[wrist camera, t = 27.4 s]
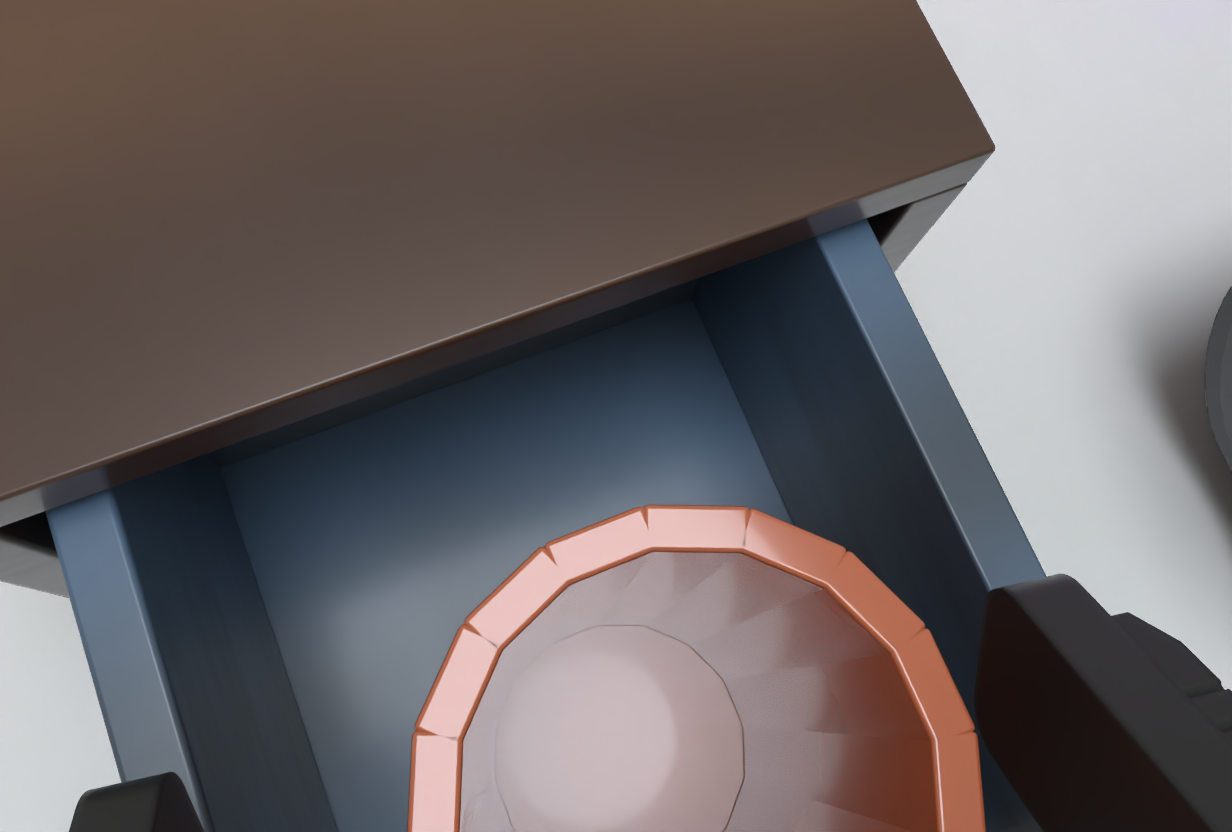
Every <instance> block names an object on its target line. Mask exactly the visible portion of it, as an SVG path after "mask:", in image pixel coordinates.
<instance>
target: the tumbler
mask: <svg viewBox="0 0 1232 832" xmlns="http://www.w3.org/2000/svg"><path fill="white" fill-rule="evenodd" d="M464 623H465V624H462V625H461V626H460V627H459V628H458V630H457V632H456V634H455V637H454V639H453V641H452V643H451V645H450V648H449V650H448V652H447V654H446V656H445V659H444V661H443V663H442V665H441V667H440V670H439V672H438V674H437V676H436V678H435V681H434V683H433V685H432V687H431V689H430V692H429V694H428V696H427V698H426V700H425V703H424V705H423V707H422V709H421V711H420V714H419V716H418V718H417V720H416V722H415V730H416V731H414V733H413V735H412V742H411V761H410V780H409V799H408V818H407V832H986V827H985V816H984V804H983V792H982V781H981V769H980V757H979V746H978V736H977V734H976V732H973V731H974V730H975V726H974V723H973V721H972V719H971V717H970V715H969V712H968V710H967V708H966V706H965V704H964V702H963V700H962V698H961V695H960V693H959V691H958V689H957V687H956V685H955V683H954V681H953V679H952V676H951V674H950V672H949V670H948V668H947V666H946V664H945V662H944V659H943V657H942V655H941V653H940V651H939V649H938V647H937V645H936V642H935V640H934V638H933V636H932V634H931V632H930V631H929V630H928V629H927V628H925V624H924V622H923V621H922V620H921V619H920V618H919V617H918V616H917V615H916V614H915V613H914V612H913V611H912V610H911V609H910V608H909V607H908V606H907V605H906V604H905V603H904V602H903V601H902V600H901V599H900V598H899V597H898V596H897V595H895V594H894V593H893V592H892V591H891V590H890V589H889V588H888V587H887V586H886V585H885V584H884V583H883V582H882V581H881V580H880V579H879V578H878V577H877V576H876V575H875V574H874V573H873V572H872V571H871V570H870V569H869V568H868V567H867V566H866V565H865V564H864V563H863V562H862V561H861V560H860V559H859V558H858V557H856V556H855V555H854V554H853V553H852V552H850V551H846V549H845V548H844V547H843V546H842V545H839V544H837V543H834V542H832V541H830V540H827V539H825V538H823V537H820V536H818V535H816V534H813V533H811V532H809V531H806V530H804V529H802V528H799V527H797V526H794V525H792V524H790V523H787V522H785V521H783V520H780V519H778V518H776V517H773V516H771V515H769V514H766V513H764V512H762V511H759V510H757V509H754V508H750V509H749V510H748V508H747V507H745V506H715V505H657V504H648V505H646V506H644V508H643V507H635V508H632V509H630V510H627V511H625V512H622V513H620V514H617V515H615V516H612V517H609V518H607V519H604V520H602V521H599V522H597V523H594V524H592V525H589V526H587V527H584V528H582V529H579V530H576V531H574V532H571V533H569V534H566V535H564V536H561V537H559V538H556V539H554V540H551V541H548V542H547V543H546V544H545V547H543V546H542V547H540V548H538V549H537V550H536V551H534V552H533V553H532V554H531V555H530V556H529V557H528V558H527V559H526V560H525V561H524V562H523V563H522V564H521V565H520V566H519V567H518V568H517V569H516V570H515V571H514V572H513V573H512V574H511V575H509V576H508V577H507V578H506V579H505V580H504V581H503V582H502V583H501V584H500V585H499V586H498V587H497V588H496V589H495V590H494V591H493V592H492V593H491V594H490V595H489V596H488V597H487V598H485V599H484V600H483V601H482V602H481V603H480V604H479V605H478V606H477V607H476V608H475V609H474V610H473V611H472V612H471V613H470V614H469V615H468V616H467V617H466V618H465V620H464Z"/></svg>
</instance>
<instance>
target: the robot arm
mask: <svg viewBox="0 0 1232 832" xmlns="http://www.w3.org/2000/svg"><path fill="white" fill-rule="evenodd" d="M974 708H975V715H976V719H977V723H978V727H979V730H980V733H981V736H982V738H983V741H984V743H985V745H986V747H987V749H988V751H989V753H990V755H991V756H992V758H993V760H994V761H995V763H996V764H997V766H998V767H999V768H1000V770H1001V771H1002V773H1003V774H1004V776H1005V777H1006V779H1007V780H1008V782H1009V783H1010V784H1011V786H1012V787H1013V789H1014V790H1015V792H1016V793H1017V795H1018V796H1019V798H1020V799H1021V800H1022V802H1023V803H1024V805H1025V806H1026V808H1027V809H1028V811H1029V812H1030V814H1031V815H1032V816H1033V818H1034V819H1035V821H1036V822H1037V824H1038V825H1039V827H1040V828H1041V830H1042V831H1043V832H1232V691H1231V690H1230V689H1227V690H1224V689H1223V687H1222V685H1221V681H1220V680H1219V679H1218V678H1217V677H1216V676H1215V675H1214V674H1213V673H1212V672H1211V671H1210V670H1209V669H1208V668H1207V667H1206V666H1205V665H1204V664H1203V663H1202V662H1201V661H1200V660H1199V659H1198V658H1197V657H1196V656H1195V655H1194V654H1193V653H1192V652H1191V651H1190V650H1189V649H1188V648H1187V647H1186V646H1185V645H1184V644H1183V643H1182V642H1181V641H1179V640H1177V639H1175V638H1173V637H1172V636H1170V635H1168V634H1166V633H1164V632H1163V631H1161V630H1159V629H1157V628H1155V627H1154V626H1152V625H1150V624H1148V623H1147V622H1145V621H1143V620H1141V619H1139V618H1138V617H1136V616H1134V615H1132V614H1130V613H1129V612H1127V613H1123V614H1118V615H1114V616H1110V615H1109V614H1108V613H1107V612H1106V611H1105V609H1104V608H1103V607H1102V606H1101V605H1100V604H1099V603H1098V602H1097V601H1096V600H1095V599H1094V598H1093V597H1092V596H1091V595H1090V594H1089V593H1088V592H1087V591H1086V590H1085V589H1084V588H1083V587H1082V586H1081V585H1080V584H1079V583H1078V582H1077V581H1076V580H1075V579H1073V578H1072V577H1070V576H1068V575H1065V574H1057V575H1053V576H1048V577H1044V578H1039V579H1035V580H1030V581H1026V582H1022V583H1017V584H1013V585H1008V586H1004V587H999V588H995V589H992V590H991V591H989V593H988V594H987V596H986V599H985V602H984V608H983V617H982V626H981V635H980V644H979V653H978V662H977V671H976V681H975V690H974ZM69 832H204V829H203V827H202V825H201V822H200V820H199V818H198V815H197V813H196V811H195V809H194V806H193V804H192V802H191V799H190V797H189V795H188V793H187V790H186V788H185V786H184V784H183V782H182V780H181V779H180V777H179V776H178V775H177V774H176V773H174V772H167V773H163V774H159V775H154V776H150V777H145V778H141V779H136V780H132V781H128V782H123V783H119V784H114V785H110V786H105V787H101V788H97V789H92V790H88V791H86V792H85V793H84V794H83V795H82V796H81V798H80V800H79V802H78V804H77V806H76V809H75V813H74V816H73V820H72V823H71V827H70V830H69Z"/></svg>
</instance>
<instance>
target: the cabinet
mask: <svg viewBox="0 0 1232 832" xmlns="http://www.w3.org/2000/svg"><path fill="white" fill-rule="evenodd" d="M994 151H995V145H994V143H993V141H992V139H991V137H990V136H989V134H988V132H987V130H986V128H985V126H984V125H983V123H982V121H981V119H980V117H979V115H978V114H977V112H976V110H975V108H974V106H973V104H972V103H971V101H970V99H969V97H968V95H967V93H966V91H965V90H964V88H963V86H962V84H961V82H960V80H959V79H958V77H957V75H956V73H955V71H954V69H953V68H952V66H951V64H950V62H949V60H948V58H947V57H946V55H945V53H944V51H943V49H942V47H941V45H940V44H939V42H938V40H937V38H936V36H935V34H934V33H933V31H932V29H931V27H930V25H929V23H928V22H927V20H926V18H925V16H924V14H923V12H922V11H921V9H920V7H919V5H918V3H917V1H916V0H0V581H1V582H6V583H10V584H14V585H18V586H22V587H26V588H30V589H35V590H39V591H43V592H47V593H51V594H55V595H59V596H63V597H68V598H70V597H69V594H68V590H67V587H66V583H65V580H64V576H63V572H62V569H61V565H60V562H59V558H58V555H57V551H56V548H55V544H54V540H53V537H52V533H51V530H50V526H49V523H48V519H47V516H46V512H45V511H46V510H49V509H52V508H55V507H58V506H60V505H63V504H66V503H69V502H72V501H74V500H77V499H80V498H83V497H86V496H88V495H91V494H94V493H97V492H100V491H102V490H105V489H108V488H111V487H114V486H117V485H119V484H122V483H125V482H128V481H131V480H133V479H136V478H139V477H142V476H145V475H147V474H150V473H153V472H156V471H159V470H161V469H164V468H167V467H170V466H173V465H175V464H178V463H181V462H184V461H187V460H189V459H192V458H195V457H198V456H201V455H203V454H206V453H209V452H212V451H215V450H217V449H220V448H223V447H226V446H229V445H232V444H234V443H237V442H240V441H243V440H246V439H248V438H251V437H254V436H257V435H260V434H262V433H265V432H268V431H271V430H274V429H276V428H279V427H282V426H285V425H288V424H290V423H293V422H296V421H299V420H302V419H304V418H307V417H310V416H313V415H316V414H318V413H321V412H324V411H327V410H330V409H332V408H335V407H338V406H341V405H344V404H347V403H349V402H352V401H355V400H358V399H361V398H363V397H366V396H369V395H372V394H375V393H377V392H380V391H383V390H386V389H389V388H391V387H394V386H397V385H400V384H403V383H405V382H408V381H411V380H414V379H417V378H419V377H422V376H425V375H428V374H431V373H433V372H436V371H439V370H442V369H445V368H448V367H450V366H453V365H456V364H459V363H462V362H464V361H467V360H470V359H473V358H476V357H478V356H481V355H484V354H487V353H490V352H492V351H495V350H498V349H501V348H504V347H506V346H509V345H512V344H515V343H518V342H520V341H523V340H526V339H529V338H532V337H534V336H537V335H540V334H543V333H546V332H548V331H551V330H554V329H557V328H560V327H563V326H565V325H568V324H571V323H574V322H577V321H579V320H582V319H585V318H588V317H591V316H593V315H596V314H599V313H602V312H605V311H607V310H610V309H613V308H616V307H619V306H621V305H624V304H627V303H630V302H633V301H635V300H638V299H641V298H644V297H647V296H649V295H652V294H655V293H658V292H661V291H663V290H666V289H669V288H672V287H675V286H678V285H680V284H683V283H686V282H689V281H692V280H694V279H697V278H700V277H703V276H706V275H708V274H711V273H714V272H717V271H720V270H722V269H725V268H728V267H731V266H734V265H736V264H739V263H742V262H745V261H748V260H750V259H753V258H756V257H759V256H762V255H764V254H767V253H770V252H773V251H776V250H778V249H781V248H784V247H787V246H790V245H793V244H795V243H798V242H801V241H804V240H807V239H809V238H812V237H815V236H818V235H821V234H823V233H826V232H829V231H832V230H835V229H837V228H840V227H843V226H846V225H849V224H851V223H854V222H857V221H860V220H863V219H865V218H867V220H868V222H869V224H870V226H871V228H872V230H873V232H874V234H875V236H876V238H877V240H878V242H879V244H880V246H881V248H882V250H883V252H884V254H885V256H886V258H887V260H888V262H889V264H890V266H891V268H892V270H893V272H895V271H896V269H897V268H898V267H899V266H900V265H901V263H902V262H903V261H904V260H905V259H906V257H907V256H908V255H909V254H910V252H911V251H912V250H913V249H914V248H915V246H916V245H917V244H918V243H919V242H920V240H921V239H922V238H923V237H924V236H925V234H926V233H927V232H928V231H929V229H930V228H931V227H932V226H933V225H934V223H935V222H936V221H937V220H938V219H939V217H940V216H941V215H942V214H943V213H944V211H945V210H946V209H947V208H948V206H949V205H950V204H951V203H952V202H953V200H954V199H955V198H956V197H957V196H958V194H959V193H960V192H961V191H962V190H963V188H964V187H965V186H966V185H967V182H969V181H970V180H971V179H972V177H973V176H974V175H975V174H976V172H977V171H978V170H979V169H980V168H981V166H982V165H983V164H984V163H985V162H986V160H987V159H988V158H989V157H990V156H991V154H992V153H993V152H994Z"/></svg>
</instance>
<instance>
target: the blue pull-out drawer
mask: <svg viewBox="0 0 1232 832" xmlns="http://www.w3.org/2000/svg"><path fill="white" fill-rule="evenodd" d="M648 504H657V505H715V506H745V507H747V508H748V510H749V509H750V508H754V509H757V510H759V511H762V512H764V513H766V514H769V515H771V516H773V517H776V518H778V519H780V520H783V521H785V522H787V523H790V524H792V525H794V526H797V527H799V528H802V529H804V530H806V531H809V532H811V533H813V534H816V535H818V536H820V537H823V538H825V539H827V540H830V541H832V542H834V543H837V544H839V545H842V546H843V547H844V548H845V549H846V551H850V552H852V553H853V554H854V555H855V556H856V557H858V558H859V559H860V560H861V561H862V562H863V563H864V564H865V565H866V566H867V567H868V568H869V569H870V570H871V571H872V572H873V573H874V574H875V575H876V576H877V577H878V578H879V579H880V580H881V581H882V582H883V583H884V584H885V585H886V586H887V587H888V588H889V589H890V590H891V591H892V592H893V593H894V594H895V595H897V596H898V597H899V598H900V599H901V600H902V601H903V602H904V603H905V604H906V605H907V606H908V607H909V608H910V609H911V610H912V611H913V612H914V613H915V614H916V615H917V616H918V617H919V618H920V619H921V620H922V621H923V622H924V624H925V628H927V629H928V630H929V631H930V632H931V634H932V636H933V638H934V640H935V642H936V645H937V647H938V649H939V651H940V653H941V655H942V657H943V659H944V662H945V664H946V666H947V668H948V670H949V672H950V674H951V676H952V679H953V681H954V683H955V685H956V687H957V689H958V691H959V693H960V695H961V698H962V700H963V702H964V704H965V706H966V708H967V710H968V712H969V715H970V717H971V719H972V721H973V723H974V726H975V730H974V731H973V732H976V734H977V736H978V746H979V757H980V769H981V781H982V792H983V804H984V816H985V827H986V832H1043V831H1042V830H1041V828H1040V827H1039V825H1038V824H1037V822H1036V821H1035V819H1034V818H1033V816H1032V815H1031V814H1030V812H1029V811H1028V809H1027V808H1026V806H1025V805H1024V803H1023V802H1022V800H1021V799H1020V798H1019V796H1018V795H1017V793H1016V792H1015V790H1014V789H1013V787H1012V786H1011V784H1010V783H1009V782H1008V780H1007V779H1006V777H1005V776H1004V774H1003V773H1002V771H1001V770H1000V768H999V767H998V766H997V764H996V763H995V761H994V760H993V758H992V756H991V755H990V753H989V751H988V749H987V747H986V745H985V743H984V741H983V738H982V736H981V733H980V730H979V727H978V723H977V719H976V715H975V708H974V690H975V681H976V671H977V662H978V653H979V644H980V635H981V626H982V617H983V608H984V602H985V599H986V596H987V594H988V593H989V591H991V590H992V589H995V588H999V587H1004V586H1008V585H1013V584H1017V583H1022V582H1026V581H1030V580H1035V579H1039V578H1044V577H1046V575H1045V573H1044V571H1043V569H1042V567H1041V565H1040V563H1039V561H1038V559H1037V557H1036V555H1035V553H1034V551H1033V549H1032V547H1031V545H1030V543H1029V541H1028V539H1027V537H1026V535H1025V533H1024V531H1023V529H1022V527H1021V525H1020V523H1019V521H1018V519H1017V517H1016V515H1015V513H1014V511H1013V509H1012V507H1011V505H1010V503H1009V501H1008V499H1007V497H1006V495H1005V493H1004V491H1003V489H1002V487H1001V485H1000V483H999V481H998V479H997V477H996V475H995V473H994V471H993V469H992V467H991V465H990V463H989V461H988V459H987V457H986V455H985V453H984V451H983V449H982V447H981V445H980V443H979V441H978V439H977V437H976V435H975V433H974V431H973V429H972V427H971V425H970V423H969V421H968V419H967V417H966V415H965V413H964V411H963V410H962V408H961V406H960V404H959V402H958V400H957V398H956V396H955V394H954V392H953V390H952V388H951V386H950V384H949V382H948V380H947V378H946V376H945V374H944V372H943V370H942V368H941V366H940V364H939V362H938V360H937V358H936V356H935V354H934V352H933V350H932V348H931V346H930V344H929V342H928V340H927V338H926V336H925V334H924V332H923V330H922V328H921V326H920V324H919V322H918V320H917V318H916V316H915V314H914V312H913V310H912V308H911V306H910V304H909V302H908V300H907V298H906V296H905V294H904V292H903V290H902V288H901V286H900V284H899V282H898V280H897V278H896V276H895V274H894V272H893V270H892V268H891V266H890V264H889V262H888V260H887V258H886V256H885V254H884V252H883V250H882V248H881V246H880V244H879V242H878V240H877V238H876V236H875V234H874V232H873V230H872V228H871V226H870V224H869V222H868V220H867V218H865V219H863V220H860V221H857V222H854V223H851V224H849V225H846V226H843V227H840V228H837V229H835V230H832V231H829V232H826V233H823V234H821V235H818V236H815V237H812V238H809V239H807V240H804V241H801V242H798V243H795V244H793V245H790V246H787V247H784V248H781V249H778V250H776V251H773V252H770V253H767V254H764V255H762V256H759V257H756V258H753V259H750V260H748V261H745V262H742V263H739V264H736V265H734V266H731V267H728V268H725V269H722V270H720V271H717V272H714V273H711V274H708V275H706V276H703V277H700V278H697V279H694V280H692V281H689V282H686V283H683V284H680V285H678V286H675V287H672V288H669V289H666V290H663V291H661V292H658V293H655V294H652V295H649V296H647V297H644V298H641V299H638V300H635V301H633V302H630V303H627V304H624V305H621V306H619V307H616V308H613V309H610V310H607V311H605V312H602V313H599V314H596V315H593V316H591V317H588V318H585V319H582V320H579V321H577V322H574V323H571V324H568V325H565V326H563V327H560V328H557V329H554V330H551V331H548V332H546V333H543V334H540V335H537V336H534V337H532V338H529V339H526V340H523V341H520V342H518V343H515V344H512V345H509V346H506V347H504V348H501V349H498V350H495V351H492V352H490V353H487V354H484V355H481V356H478V357H476V358H473V359H470V360H467V361H464V362H462V363H459V364H456V365H453V366H450V367H448V368H445V369H442V370H439V371H436V372H433V373H431V374H428V375H425V376H422V377H419V378H417V379H414V380H411V381H408V382H405V383H403V384H400V385H397V386H394V387H391V388H389V389H386V390H383V391H380V392H377V393H375V394H372V395H369V396H366V397H363V398H361V399H358V400H355V401H352V402H349V403H347V404H344V405H341V406H338V407H335V408H332V409H330V410H327V411H324V412H321V413H318V414H316V415H313V416H310V417H307V418H304V419H302V420H299V421H296V422H293V423H290V424H288V425H285V426H282V427H279V428H276V429H274V430H271V431H268V432H265V433H262V434H260V435H257V436H254V437H251V438H248V439H246V440H243V441H240V442H237V443H234V444H232V445H229V446H226V447H223V448H220V449H217V450H215V451H212V452H209V453H206V454H203V455H201V456H198V457H195V458H192V459H189V460H187V461H184V462H181V463H178V464H175V465H173V466H170V467H167V468H164V469H161V470H159V471H156V472H153V473H150V474H147V475H145V476H142V477H139V478H136V479H133V480H131V481H128V482H125V483H122V484H119V485H117V486H114V487H111V488H108V489H105V490H102V491H100V492H97V493H94V494H91V495H88V496H86V497H83V498H80V499H77V500H74V501H72V502H69V503H66V504H63V505H60V506H58V507H55V508H52V509H49V510H46V511H45V512H46V516H47V519H48V523H49V526H50V530H51V533H52V537H53V540H54V544H55V548H56V551H57V555H58V558H59V562H60V565H61V569H62V572H63V576H64V580H65V583H66V587H67V590H68V594H69V597H70V601H71V604H72V608H73V612H74V615H75V619H76V622H77V626H78V629H79V633H80V637H81V640H82V644H83V647H84V651H85V654H86V658H87V661H88V665H89V669H90V672H91V676H92V679H93V683H94V686H95V690H96V693H97V697H98V701H99V704H100V708H101V711H102V715H103V718H104V722H105V725H106V729H107V733H108V736H109V740H110V743H111V747H112V750H113V754H114V757H115V761H116V765H117V768H118V772H119V775H120V779H121V782H122V783H123V782H128V781H132V780H136V779H141V778H145V777H150V776H154V775H159V774H163V773H167V772H174V773H176V774H177V775H178V776H179V777H180V779H181V780H182V782H183V784H184V786H185V788H186V790H187V793H188V795H189V797H190V799H191V802H192V804H193V806H194V809H195V811H196V813H197V815H198V818H199V820H200V822H201V825H202V827H203V829H204V832H407V818H408V799H409V780H410V761H411V742H412V735H413V733H414V731H416V730H415V722H416V720H417V718H418V716H419V714H420V711H421V709H422V707H423V705H424V703H425V700H426V698H427V696H428V694H429V692H430V689H431V687H432V685H433V683H434V681H435V678H436V676H437V674H438V672H439V670H440V667H441V665H442V663H443V661H444V659H445V656H446V654H447V652H448V650H449V648H450V645H451V643H452V641H453V639H454V637H455V634H456V632H457V630H458V628H459V627H460V626H461V625H462V624H465V623H464V620H465V618H466V617H467V616H468V615H469V614H470V613H471V612H472V611H473V610H474V609H475V608H476V607H477V606H478V605H479V604H480V603H481V602H482V601H483V600H484V599H485V598H487V597H488V596H489V595H490V594H491V593H492V592H493V591H494V590H495V589H496V588H497V587H498V586H499V585H500V584H501V583H502V582H503V581H504V580H505V579H506V578H507V577H508V576H509V575H511V574H512V573H513V572H514V571H515V570H516V569H517V568H518V567H519V566H520V565H521V564H522V563H523V562H524V561H525V560H526V559H527V558H528V557H529V556H530V555H531V554H532V553H533V552H534V551H536V550H537V549H538V548H540V547H542V546H543V547H545V544H546V543H547V542H548V541H551V540H554V539H556V538H559V537H561V536H564V535H566V534H569V533H571V532H574V531H576V530H579V529H582V528H584V527H587V526H589V525H592V524H594V523H597V522H599V521H602V520H604V519H607V518H609V517H612V516H615V515H617V514H620V513H622V512H625V511H627V510H630V509H632V508H635V507H643V508H644V506H646V505H648Z"/></svg>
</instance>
